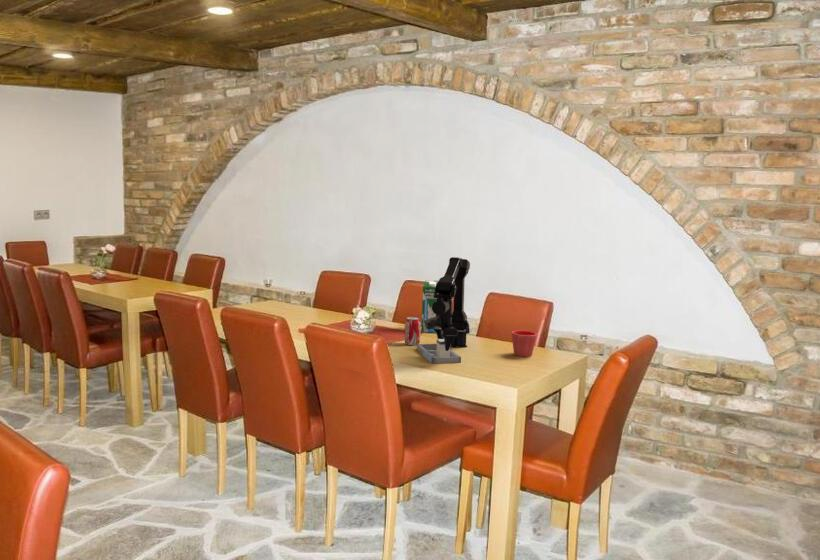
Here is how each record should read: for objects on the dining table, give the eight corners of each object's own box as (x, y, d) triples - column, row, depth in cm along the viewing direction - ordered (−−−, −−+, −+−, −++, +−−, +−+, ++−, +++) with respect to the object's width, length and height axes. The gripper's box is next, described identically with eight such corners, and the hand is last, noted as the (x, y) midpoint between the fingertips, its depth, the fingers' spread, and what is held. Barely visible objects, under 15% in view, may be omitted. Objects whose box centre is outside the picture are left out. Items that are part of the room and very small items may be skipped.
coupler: (446, 357, 293) (447, 338, 292) (450, 360, 288) (450, 341, 287) (436, 357, 292) (436, 339, 291) (439, 360, 287) (439, 341, 286)
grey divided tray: (442, 348, 310) (442, 341, 309) (460, 362, 285) (461, 354, 284) (415, 349, 307) (415, 341, 306) (431, 363, 282) (431, 355, 281)
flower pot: (538, 353, 305) (539, 331, 304) (531, 358, 295) (533, 336, 294) (514, 350, 309) (516, 329, 308) (507, 355, 299) (508, 333, 298)
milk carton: (421, 332, 344) (422, 282, 341) (424, 328, 353) (425, 279, 350) (439, 333, 343) (441, 282, 340) (441, 329, 352) (443, 280, 349)
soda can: (418, 346, 313) (419, 319, 311) (403, 345, 314) (403, 319, 312) (421, 343, 319) (422, 317, 318) (406, 342, 321) (406, 316, 319)
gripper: (420, 307, 295) (419, 343, 297) (432, 315, 277) (430, 354, 279) (445, 307, 297) (444, 343, 299) (459, 315, 279) (457, 353, 281)
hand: (443, 348), depth 290 cm, fingers open, 9 cm apart
